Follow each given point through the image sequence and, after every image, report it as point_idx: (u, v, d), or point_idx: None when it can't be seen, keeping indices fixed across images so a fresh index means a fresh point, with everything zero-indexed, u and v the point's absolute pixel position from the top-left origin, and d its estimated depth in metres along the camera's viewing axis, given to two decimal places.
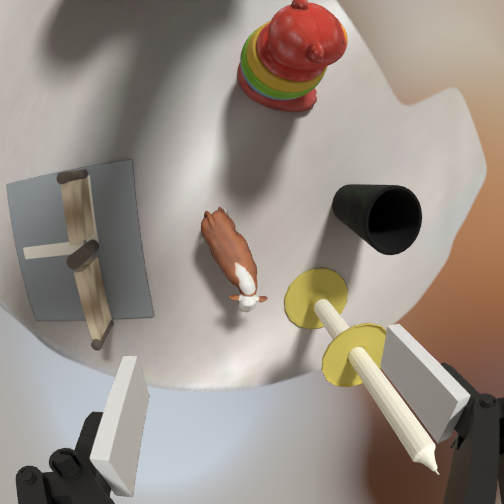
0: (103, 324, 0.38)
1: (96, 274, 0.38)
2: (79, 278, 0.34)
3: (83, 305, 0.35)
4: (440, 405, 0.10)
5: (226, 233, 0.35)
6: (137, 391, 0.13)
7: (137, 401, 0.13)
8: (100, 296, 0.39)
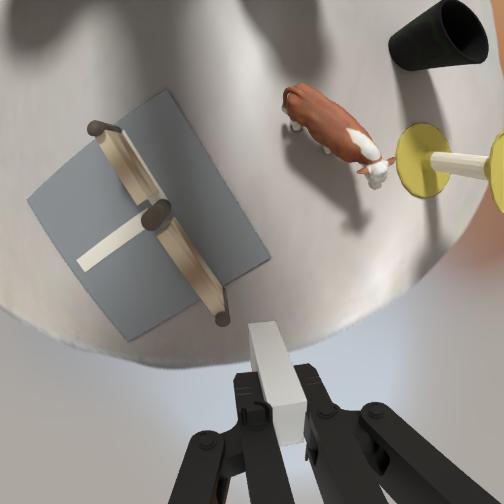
0: (218, 292, 0.32)
1: (183, 235, 0.32)
2: (166, 240, 0.27)
3: (185, 274, 0.28)
4: None
5: (321, 100, 0.25)
6: None
7: None
8: (199, 260, 0.32)
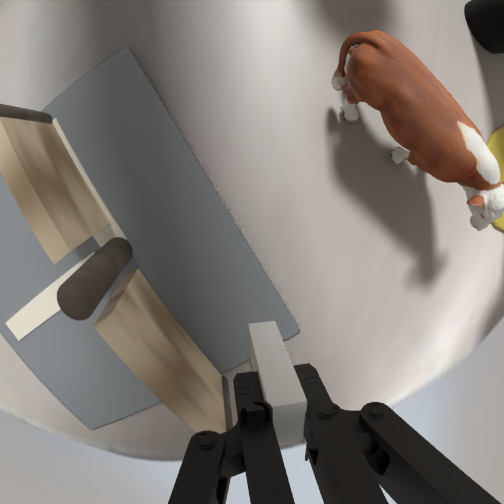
0: (215, 399, 0.18)
1: (151, 306, 0.17)
2: (112, 333, 0.13)
3: (154, 389, 0.14)
4: None
5: (417, 63, 0.11)
6: None
7: None
8: (181, 347, 0.18)
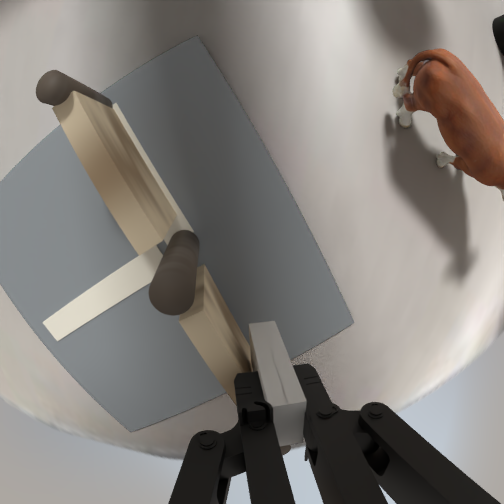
0: None
1: (220, 304, 0.17)
2: (199, 330, 0.13)
3: (228, 388, 0.14)
4: None
5: (475, 82, 0.12)
6: None
7: None
8: (243, 345, 0.18)
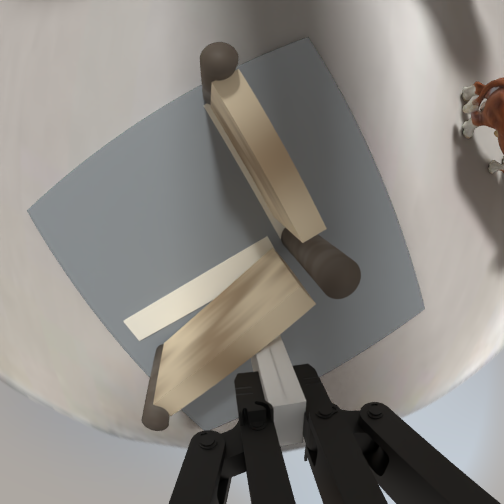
0: None
1: None
2: (294, 307, 0.13)
3: (227, 352, 0.14)
4: None
5: None
6: None
7: None
8: None
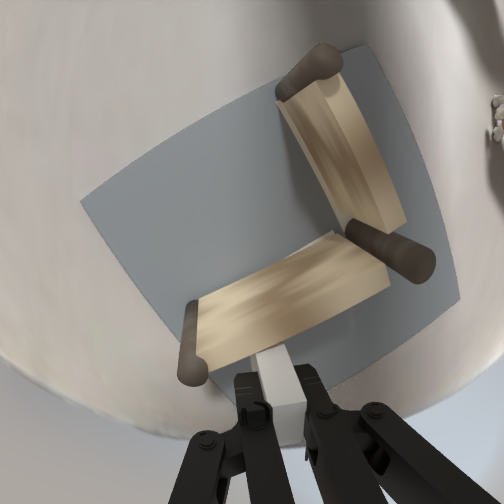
0: None
1: None
2: (373, 282, 0.14)
3: (302, 311, 0.14)
4: None
5: None
6: None
7: None
8: None
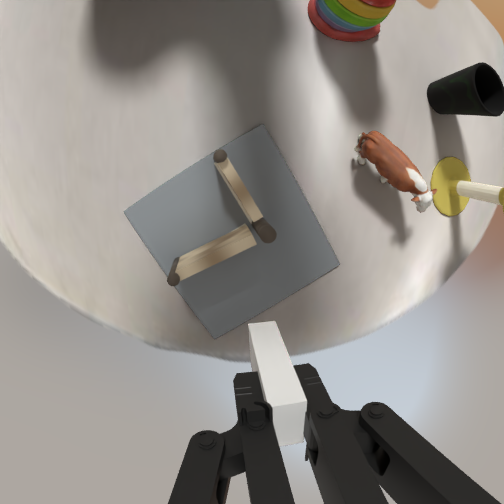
0: None
1: None
2: (248, 242, 0.35)
3: (216, 253, 0.34)
4: None
5: (389, 145, 0.34)
6: None
7: None
8: None
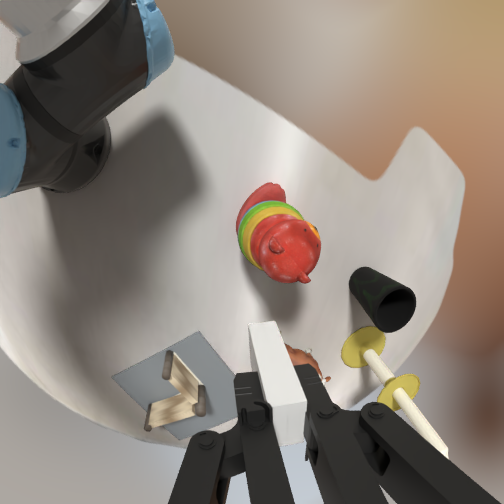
0: None
1: None
2: (189, 414, 0.50)
3: (171, 418, 0.50)
4: None
5: None
6: None
7: None
8: None
